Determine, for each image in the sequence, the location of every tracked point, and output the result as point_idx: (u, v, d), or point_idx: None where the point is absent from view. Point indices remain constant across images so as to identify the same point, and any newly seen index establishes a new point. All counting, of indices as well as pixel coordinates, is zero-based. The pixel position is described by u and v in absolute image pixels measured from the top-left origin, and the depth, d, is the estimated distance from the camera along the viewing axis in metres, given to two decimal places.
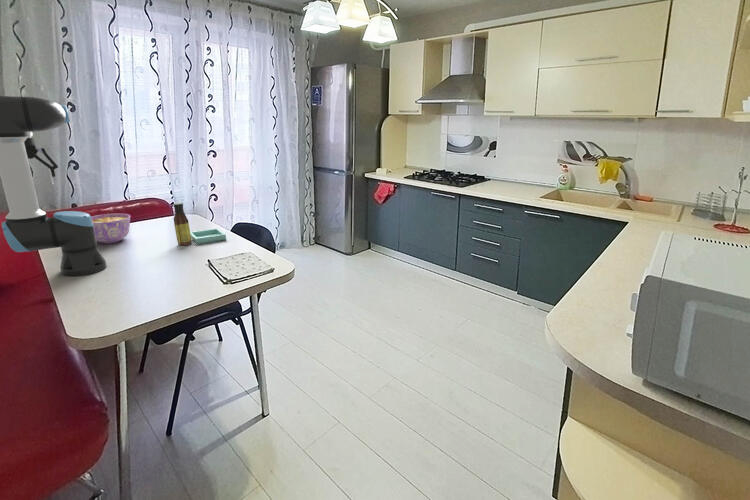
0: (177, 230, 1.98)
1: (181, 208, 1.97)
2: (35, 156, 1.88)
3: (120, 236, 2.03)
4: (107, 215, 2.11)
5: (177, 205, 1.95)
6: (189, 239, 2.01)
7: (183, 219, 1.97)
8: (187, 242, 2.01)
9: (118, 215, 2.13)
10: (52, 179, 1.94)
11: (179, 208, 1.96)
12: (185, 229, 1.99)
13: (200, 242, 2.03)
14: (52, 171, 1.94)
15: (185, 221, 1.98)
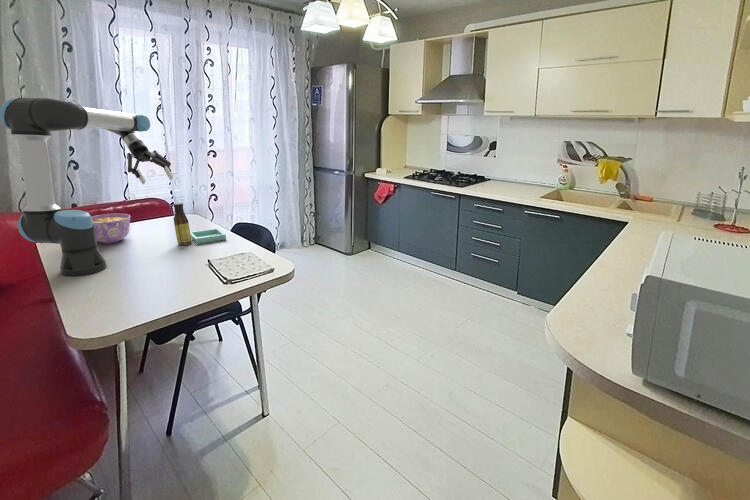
0: (177, 230, 1.98)
1: (181, 208, 1.97)
2: (151, 155, 2.04)
3: (120, 236, 2.03)
4: (107, 215, 2.11)
5: (177, 205, 1.95)
6: (189, 239, 2.01)
7: (183, 219, 1.97)
8: (187, 242, 2.01)
9: (118, 215, 2.13)
10: (170, 172, 2.06)
11: (179, 208, 1.96)
12: (185, 229, 1.99)
13: (200, 242, 2.03)
14: (168, 167, 2.07)
15: (185, 221, 1.98)
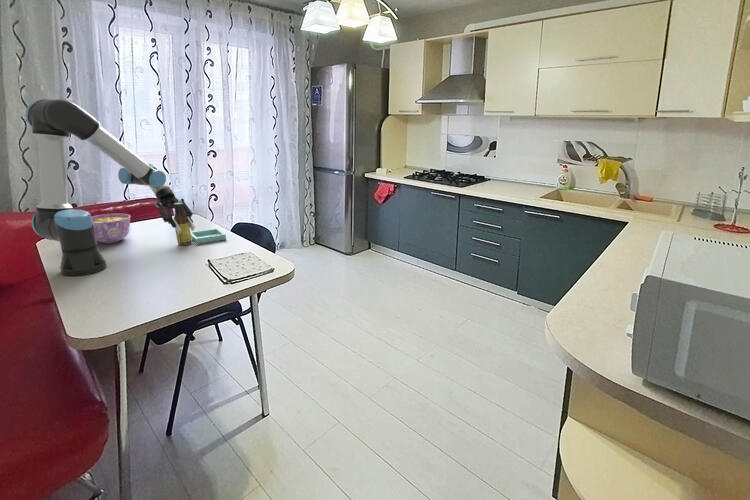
0: None
1: (181, 208, 1.97)
2: None
3: (120, 236, 2.03)
4: (107, 215, 2.11)
5: (177, 205, 1.95)
6: (189, 239, 2.01)
7: (183, 219, 1.97)
8: (187, 242, 2.01)
9: (118, 215, 2.13)
10: (192, 223, 2.01)
11: (179, 208, 1.96)
12: (185, 229, 1.99)
13: (200, 242, 2.03)
14: (190, 218, 2.03)
15: (185, 221, 1.98)
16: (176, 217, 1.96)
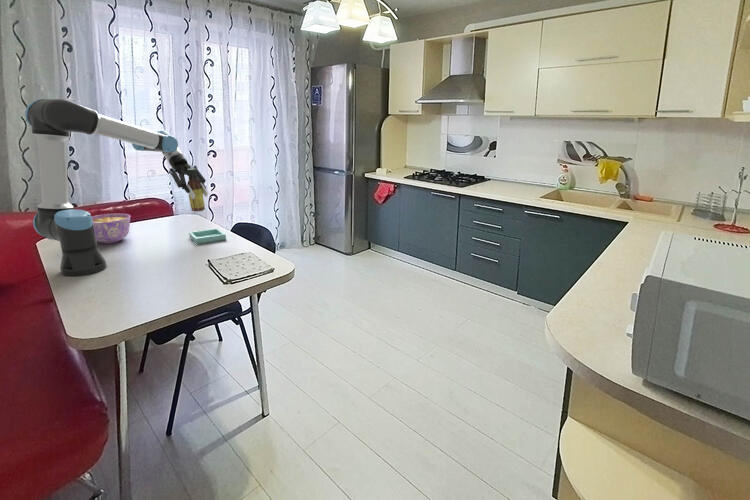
0: None
1: (195, 173, 1.99)
2: None
3: (120, 236, 2.03)
4: (107, 215, 2.11)
5: (191, 170, 1.97)
6: (202, 205, 2.03)
7: (196, 184, 1.99)
8: (200, 208, 2.03)
9: (118, 215, 2.13)
10: (205, 189, 2.03)
11: (193, 173, 1.98)
12: (198, 195, 2.01)
13: (200, 242, 2.03)
14: (203, 184, 2.05)
15: (199, 187, 2.00)
16: (190, 182, 1.98)
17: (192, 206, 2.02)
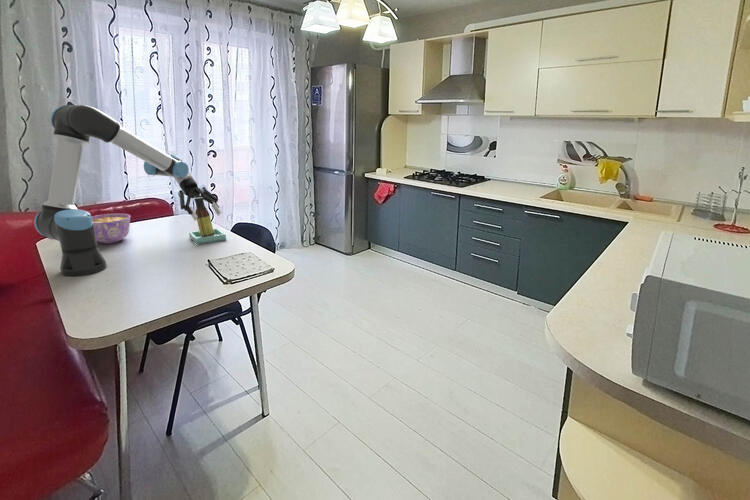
0: (199, 223, 2.06)
1: (202, 202, 2.05)
2: (201, 192, 2.10)
3: (120, 236, 2.03)
4: (107, 215, 2.11)
5: (198, 199, 2.04)
6: (211, 231, 2.10)
7: (204, 212, 2.06)
8: (210, 234, 2.09)
9: (118, 215, 2.13)
10: (218, 208, 2.11)
11: (200, 202, 2.05)
12: (207, 222, 2.07)
13: (200, 242, 2.03)
14: (216, 203, 2.13)
15: (206, 214, 2.07)
16: (198, 211, 2.05)
17: (201, 233, 2.08)
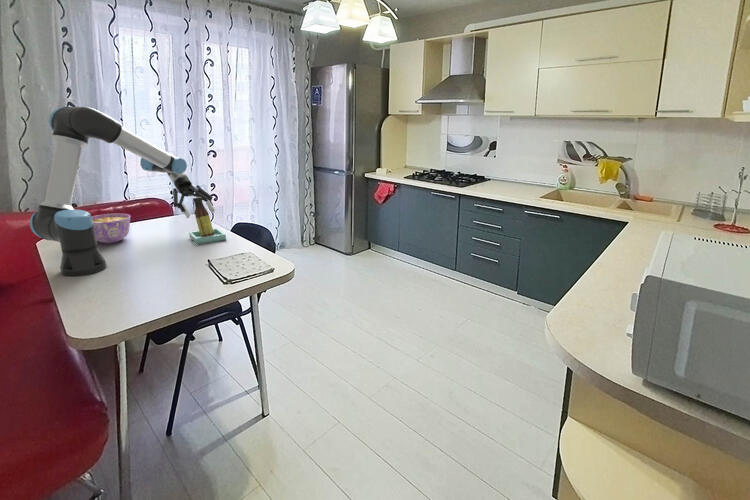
0: (199, 223, 2.07)
1: (200, 201, 2.06)
2: (195, 190, 2.13)
3: (120, 236, 2.03)
4: (107, 215, 2.11)
5: (196, 198, 2.05)
6: (211, 231, 2.10)
7: (203, 211, 2.06)
8: (209, 234, 2.09)
9: (118, 215, 2.13)
10: (212, 206, 2.15)
11: (198, 201, 2.05)
12: (206, 221, 2.07)
13: (200, 242, 2.03)
14: (210, 201, 2.17)
15: (205, 213, 2.07)
16: (196, 210, 2.06)
17: (201, 233, 2.08)
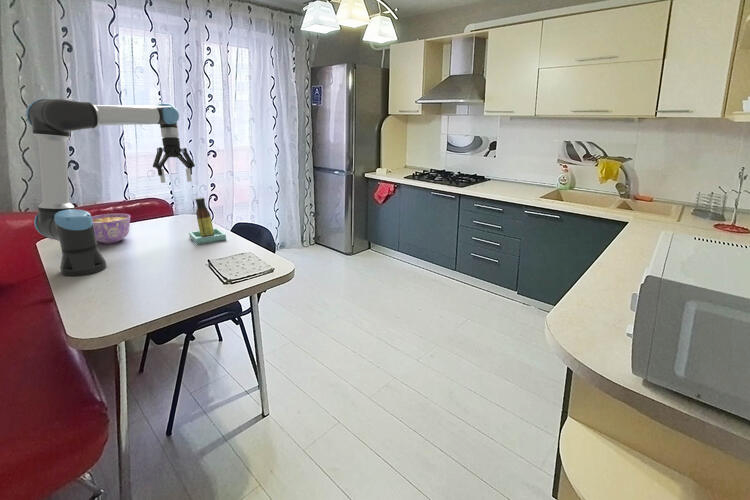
0: (200, 224, 2.06)
1: (203, 202, 2.05)
2: (180, 155, 2.07)
3: (120, 236, 2.03)
4: (107, 215, 2.11)
5: (199, 200, 2.03)
6: (212, 232, 2.10)
7: (205, 213, 2.05)
8: (210, 235, 2.09)
9: (118, 215, 2.13)
10: (190, 176, 2.13)
11: (201, 202, 2.04)
12: (207, 223, 2.07)
13: (200, 242, 2.03)
14: (190, 169, 2.13)
15: (207, 215, 2.06)
16: (198, 211, 2.04)
17: (202, 234, 2.08)
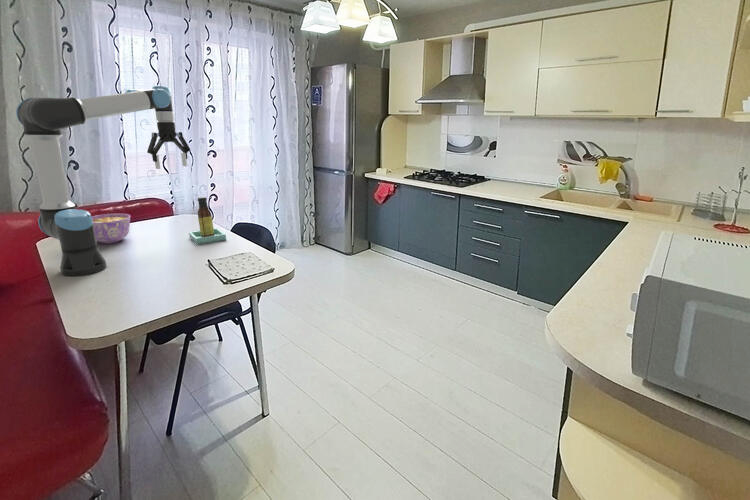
0: (201, 223, 2.07)
1: (205, 202, 2.06)
2: (175, 139, 2.02)
3: (120, 236, 2.03)
4: (107, 215, 2.11)
5: (201, 199, 2.05)
6: (212, 232, 2.10)
7: (206, 212, 2.06)
8: (210, 235, 2.09)
9: (118, 215, 2.13)
10: (186, 161, 2.09)
11: (203, 202, 2.05)
12: (208, 222, 2.07)
13: (200, 242, 2.03)
14: (186, 154, 2.09)
15: (208, 214, 2.07)
16: (200, 210, 2.05)
17: (202, 233, 2.08)
